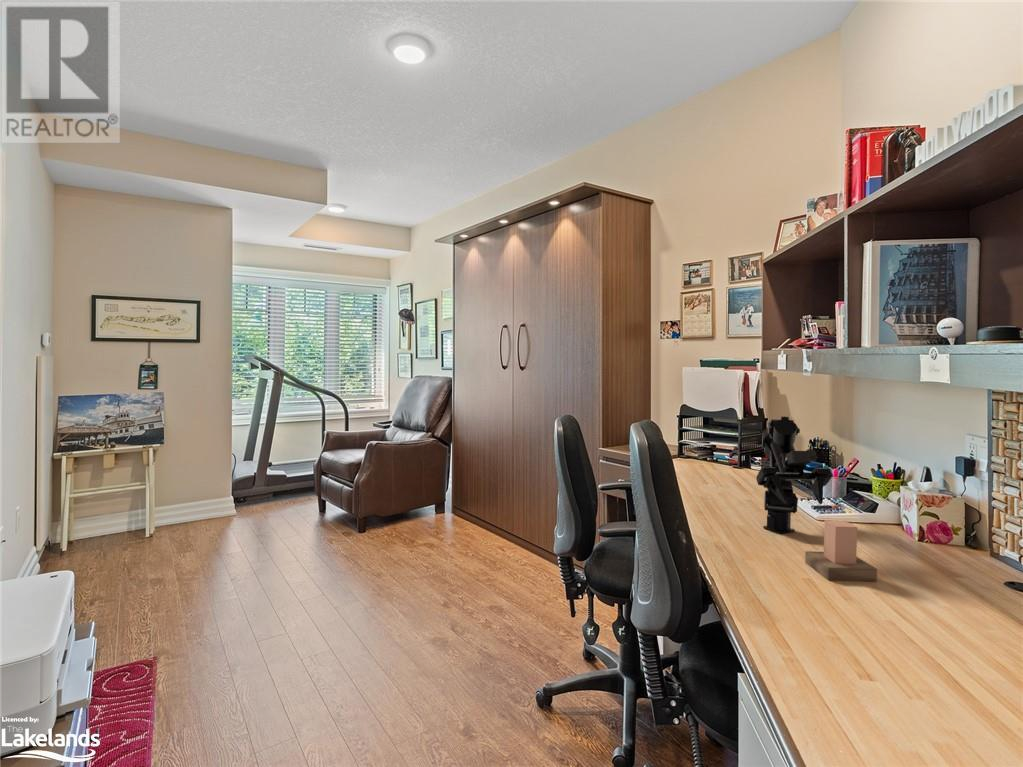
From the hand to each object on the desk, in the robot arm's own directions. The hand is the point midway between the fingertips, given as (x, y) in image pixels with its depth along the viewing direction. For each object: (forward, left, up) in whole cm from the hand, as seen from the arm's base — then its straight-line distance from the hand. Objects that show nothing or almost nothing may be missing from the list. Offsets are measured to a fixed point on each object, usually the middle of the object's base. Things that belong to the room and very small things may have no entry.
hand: (803, 503), depth 142 cm
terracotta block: (+3, +13, -11) cm, 17 cm away
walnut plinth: (+3, +13, -14) cm, 19 cm away
